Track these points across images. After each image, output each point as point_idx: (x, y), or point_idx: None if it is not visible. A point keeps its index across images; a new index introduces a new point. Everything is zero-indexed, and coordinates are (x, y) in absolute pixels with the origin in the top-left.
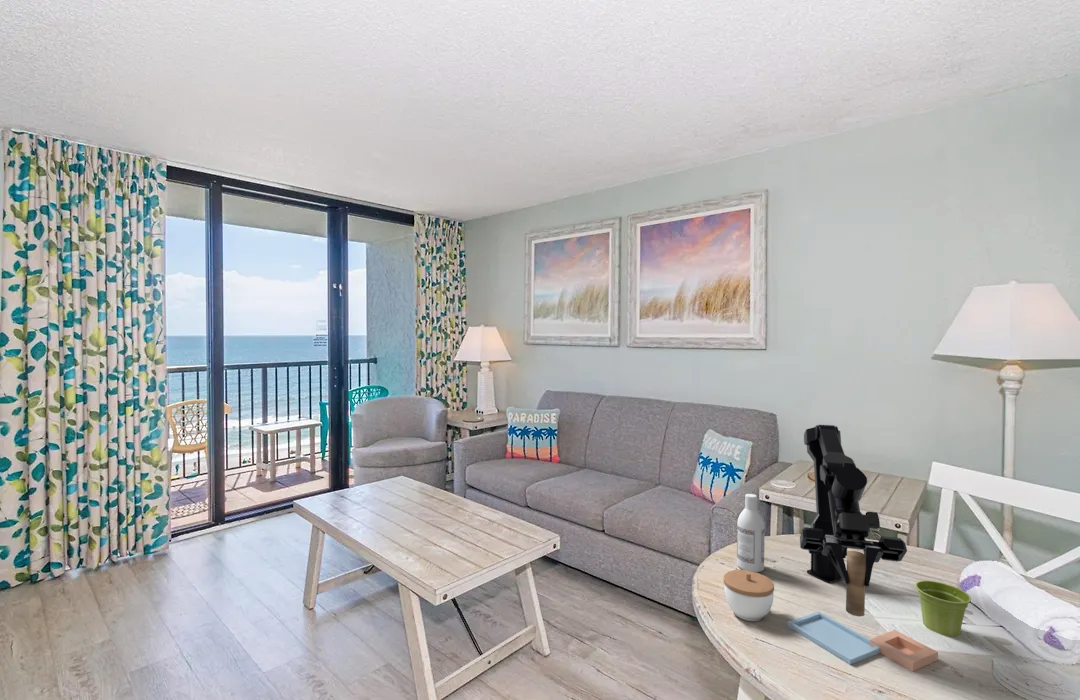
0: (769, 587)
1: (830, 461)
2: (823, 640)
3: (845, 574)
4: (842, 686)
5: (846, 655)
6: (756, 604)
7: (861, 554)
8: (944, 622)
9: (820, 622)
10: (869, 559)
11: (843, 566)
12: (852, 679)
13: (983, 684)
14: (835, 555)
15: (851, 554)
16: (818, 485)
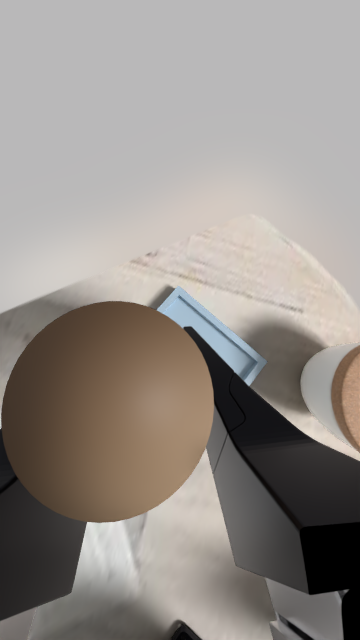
0: (351, 385)
1: None
2: (210, 337)
3: (196, 341)
4: (192, 244)
5: (182, 295)
6: (342, 345)
7: (45, 423)
8: None
9: None
10: (3, 457)
11: (210, 368)
12: (178, 264)
13: (2, 327)
14: (285, 421)
15: (169, 363)
16: None
